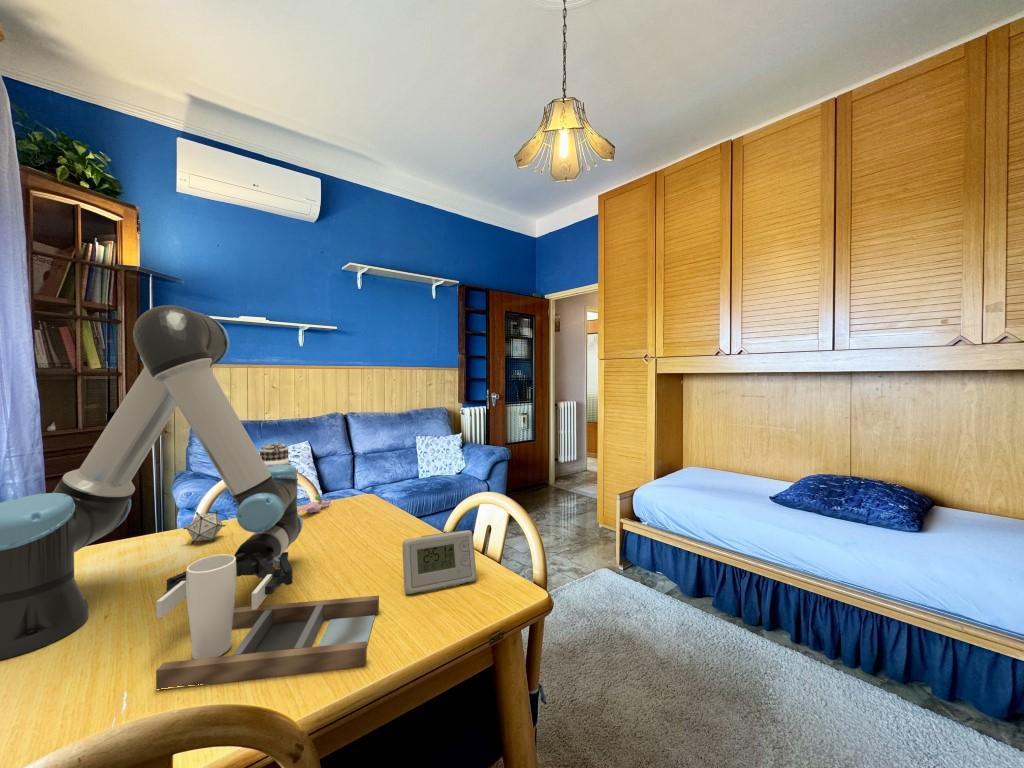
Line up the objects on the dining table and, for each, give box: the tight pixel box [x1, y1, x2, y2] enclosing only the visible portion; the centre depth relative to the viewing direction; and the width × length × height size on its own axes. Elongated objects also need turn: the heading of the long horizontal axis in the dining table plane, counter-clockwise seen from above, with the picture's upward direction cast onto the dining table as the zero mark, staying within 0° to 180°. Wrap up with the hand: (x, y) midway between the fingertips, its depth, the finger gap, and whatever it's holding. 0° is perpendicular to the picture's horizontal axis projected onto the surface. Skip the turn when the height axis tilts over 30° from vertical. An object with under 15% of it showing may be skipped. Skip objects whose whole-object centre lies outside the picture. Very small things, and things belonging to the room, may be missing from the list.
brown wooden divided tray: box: [155, 595, 380, 690], centre depth 69 cm, size 29×16×3 cm, turn 100°
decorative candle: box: [258, 442, 292, 467], centre depth 124 cm, size 9×9×25 cm
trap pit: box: [231, 605, 324, 656], centre depth 69 cm, size 10×12×3 cm
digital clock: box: [402, 529, 477, 595], centre depth 90 cm, size 16×9×11 cm, turn 102°
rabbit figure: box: [297, 494, 332, 514], centre depth 137 cm, size 6×6×15 cm
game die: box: [182, 510, 227, 545], centre depth 112 cm, size 9×8×10 cm
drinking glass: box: [185, 553, 238, 660], centre depth 67 cm, size 7×7×15 cm
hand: (207, 605), depth 65 cm, fingers open, 13 cm apart
